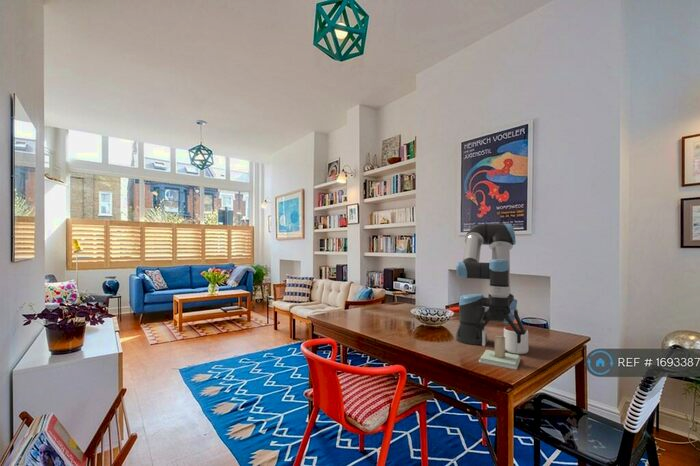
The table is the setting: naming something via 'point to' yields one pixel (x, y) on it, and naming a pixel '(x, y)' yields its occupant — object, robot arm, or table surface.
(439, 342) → the table surface
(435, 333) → the table surface
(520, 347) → the cup
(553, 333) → the table surface
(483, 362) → the mat
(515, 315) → the robot arm
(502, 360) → the lid
